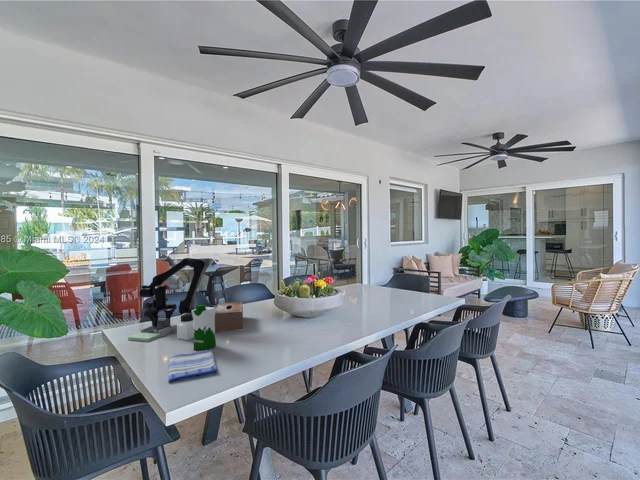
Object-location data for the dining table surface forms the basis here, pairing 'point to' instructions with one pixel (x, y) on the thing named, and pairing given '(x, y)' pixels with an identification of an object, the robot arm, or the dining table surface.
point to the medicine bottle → (185, 327)
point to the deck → (148, 334)
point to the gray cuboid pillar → (162, 323)
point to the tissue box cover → (229, 316)
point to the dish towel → (191, 366)
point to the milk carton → (204, 327)
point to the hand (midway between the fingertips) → (161, 325)
